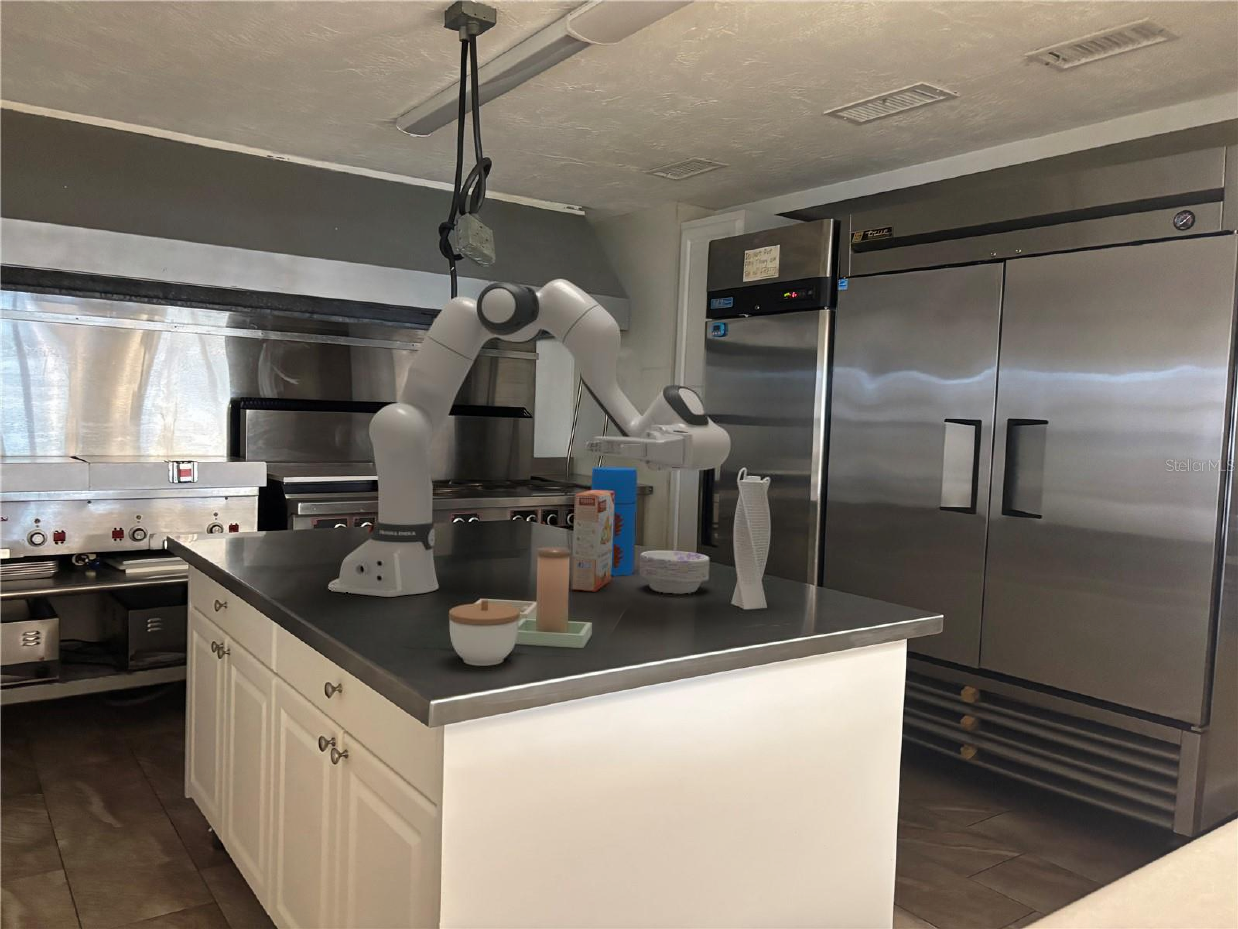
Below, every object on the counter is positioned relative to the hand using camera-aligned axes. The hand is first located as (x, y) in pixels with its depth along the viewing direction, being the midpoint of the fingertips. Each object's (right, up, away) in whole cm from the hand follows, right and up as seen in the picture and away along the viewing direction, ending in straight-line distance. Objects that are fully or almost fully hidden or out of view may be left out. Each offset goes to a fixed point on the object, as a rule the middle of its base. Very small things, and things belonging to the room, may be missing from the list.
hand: (603, 448), depth 163 cm
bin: (-24, -31, -1) cm, 39 cm away
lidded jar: (-18, -33, -24) cm, 45 cm away
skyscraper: (+29, -32, +21) cm, 48 cm away
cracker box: (-3, -30, +37) cm, 48 cm away
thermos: (+1, -29, +55) cm, 62 cm away
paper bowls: (+15, -31, +35) cm, 49 cm away
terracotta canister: (-8, -32, -14) cm, 36 cm away
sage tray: (-8, -33, -14) cm, 37 cm away
